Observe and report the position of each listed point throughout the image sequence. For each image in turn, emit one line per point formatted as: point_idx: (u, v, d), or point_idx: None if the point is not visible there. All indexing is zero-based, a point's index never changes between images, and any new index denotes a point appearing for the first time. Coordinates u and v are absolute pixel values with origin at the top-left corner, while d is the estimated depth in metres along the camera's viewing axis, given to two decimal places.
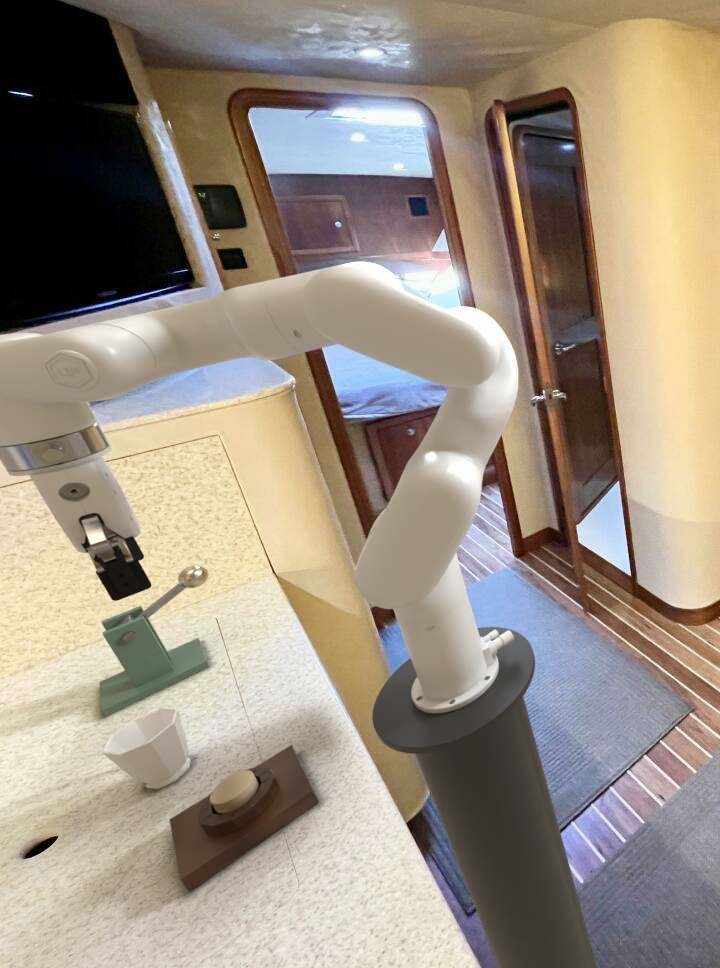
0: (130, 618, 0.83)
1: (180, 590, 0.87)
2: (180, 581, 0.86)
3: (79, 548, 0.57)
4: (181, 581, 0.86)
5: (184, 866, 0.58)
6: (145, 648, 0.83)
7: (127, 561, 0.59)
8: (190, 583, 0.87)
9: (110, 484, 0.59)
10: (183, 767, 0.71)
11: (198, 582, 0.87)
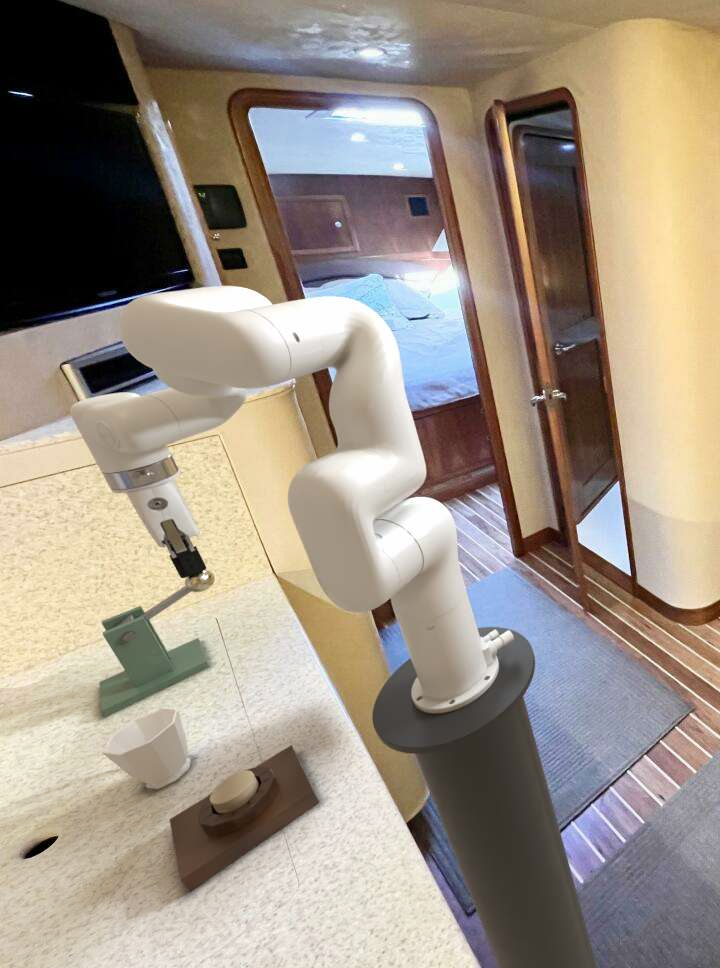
0: (132, 618, 0.83)
1: (185, 593, 0.87)
2: (187, 584, 0.87)
3: (159, 544, 0.81)
4: (188, 584, 0.87)
5: (184, 866, 0.58)
6: (145, 648, 0.83)
7: (192, 551, 0.86)
8: (197, 587, 0.87)
9: (180, 498, 0.82)
10: (183, 767, 0.71)
11: (204, 587, 0.88)
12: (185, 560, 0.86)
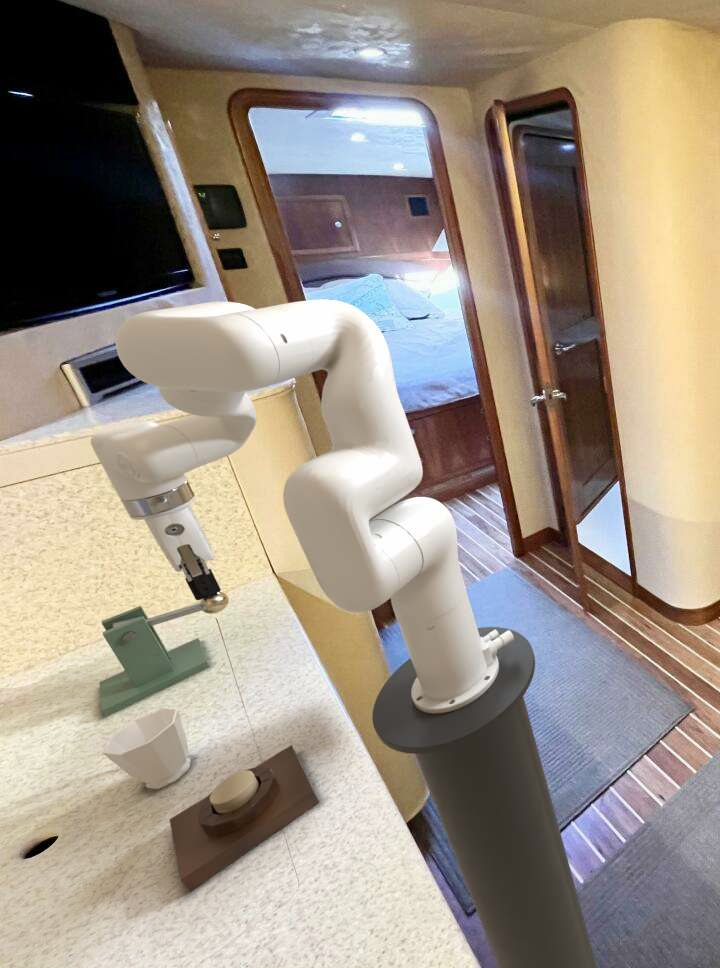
0: None
1: (196, 610, 0.89)
2: (204, 602, 0.89)
3: (176, 568, 0.83)
4: (205, 602, 0.89)
5: (184, 866, 0.58)
6: (145, 648, 0.83)
7: (207, 574, 0.88)
8: (210, 608, 0.89)
9: (196, 523, 0.84)
10: (183, 767, 0.71)
11: (216, 610, 0.90)
12: (200, 583, 0.88)
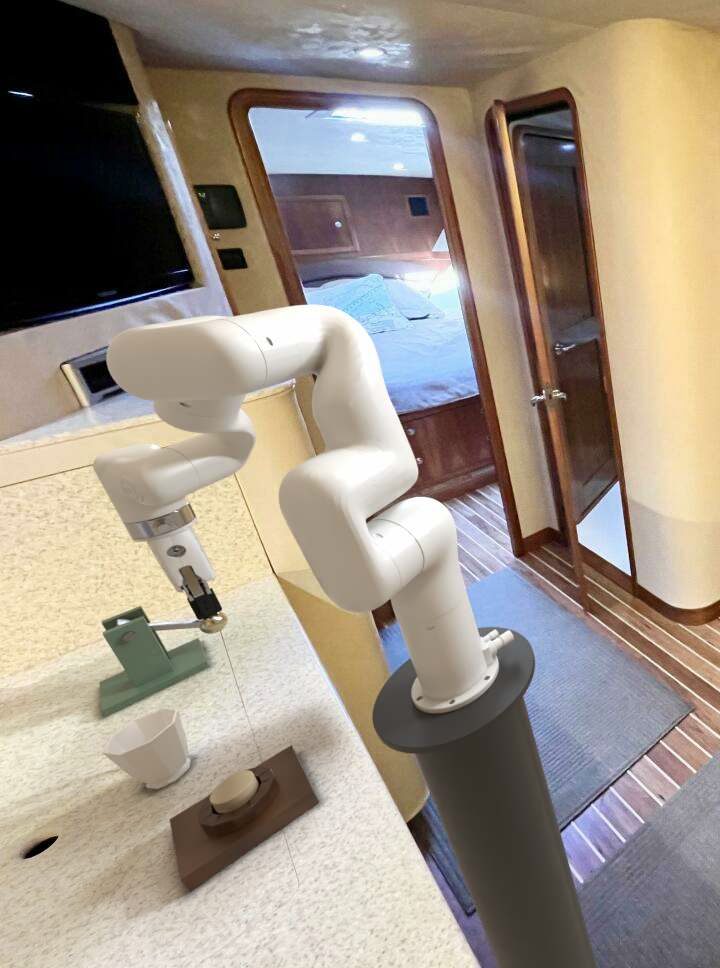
0: None
1: (194, 626, 0.89)
2: (206, 619, 0.90)
3: (178, 589, 0.83)
4: (207, 619, 0.90)
5: (184, 866, 0.58)
6: (145, 648, 0.83)
7: (208, 594, 0.89)
8: (209, 627, 0.90)
9: (198, 544, 0.85)
10: (183, 767, 0.71)
11: (213, 630, 0.90)
12: (202, 602, 0.89)
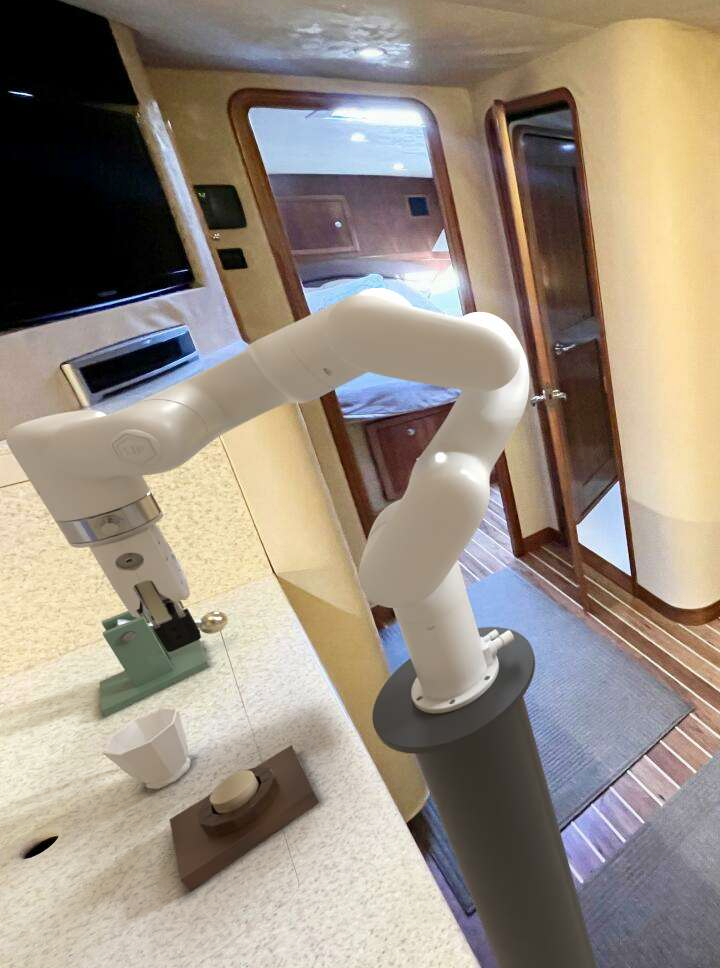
0: None
1: None
2: (206, 619, 0.90)
3: (134, 614, 0.60)
4: (207, 619, 0.90)
5: (184, 866, 0.58)
6: (145, 648, 0.83)
7: (181, 618, 0.66)
8: (209, 627, 0.90)
9: (162, 551, 0.61)
10: (183, 767, 0.71)
11: (213, 630, 0.90)
12: (172, 629, 0.65)
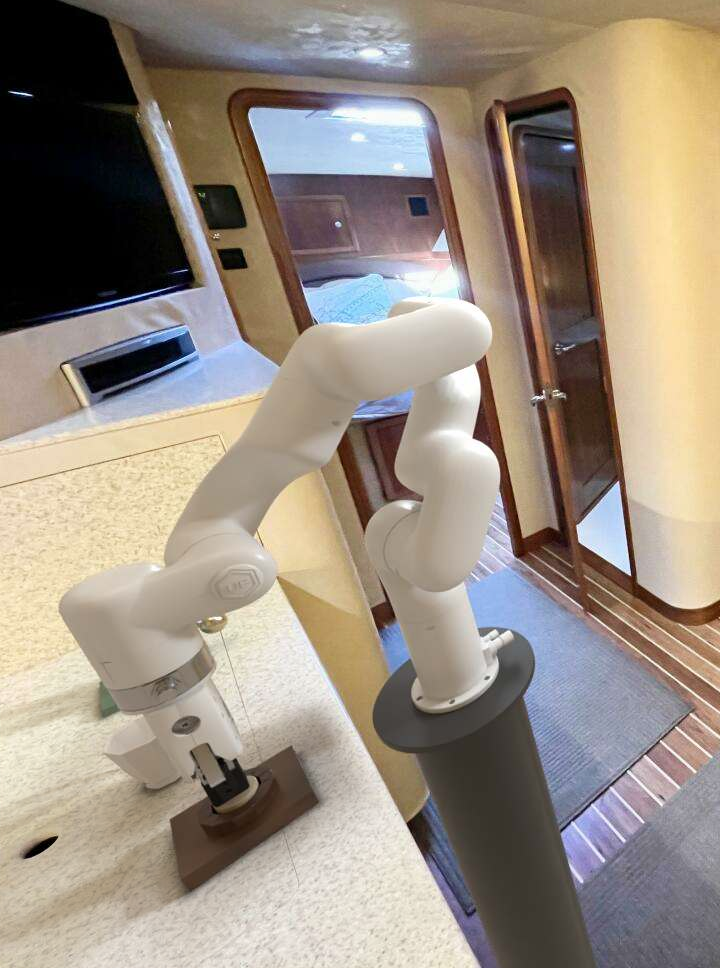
0: None
1: None
2: (206, 619, 0.90)
3: (188, 780, 0.55)
4: (207, 619, 0.90)
5: (184, 866, 0.58)
6: None
7: (231, 770, 0.61)
8: (209, 627, 0.90)
9: (218, 708, 0.57)
10: None
11: (213, 630, 0.90)
12: (221, 784, 0.60)
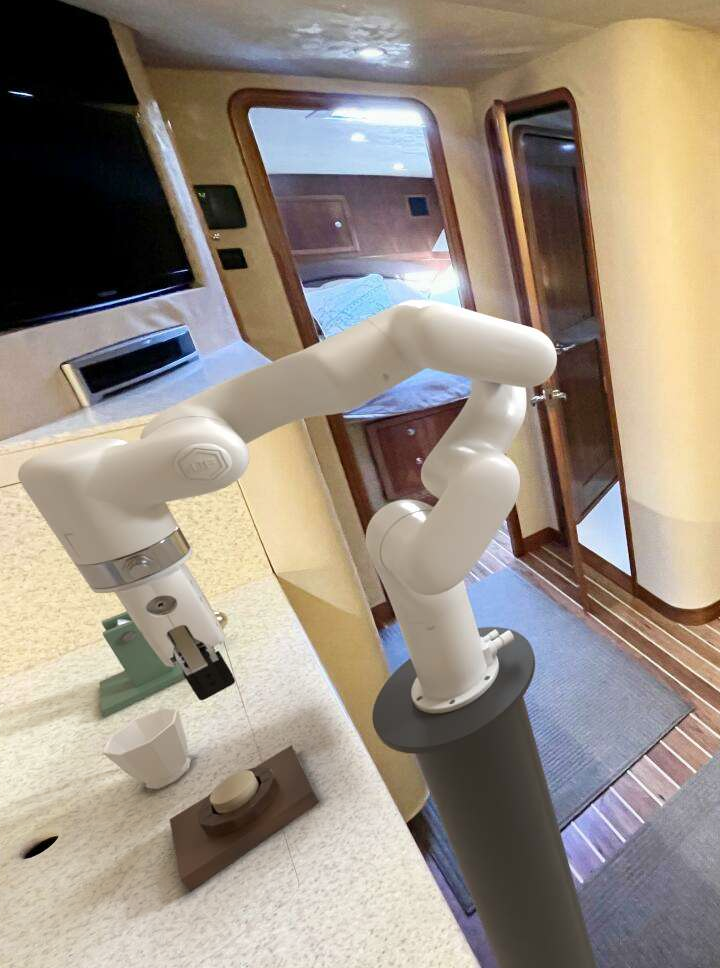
0: None
1: None
2: None
3: (167, 663, 0.54)
4: None
5: (184, 866, 0.58)
6: (145, 648, 0.83)
7: (214, 662, 0.60)
8: None
9: (196, 592, 0.55)
10: (183, 767, 0.71)
11: None
12: (205, 675, 0.59)
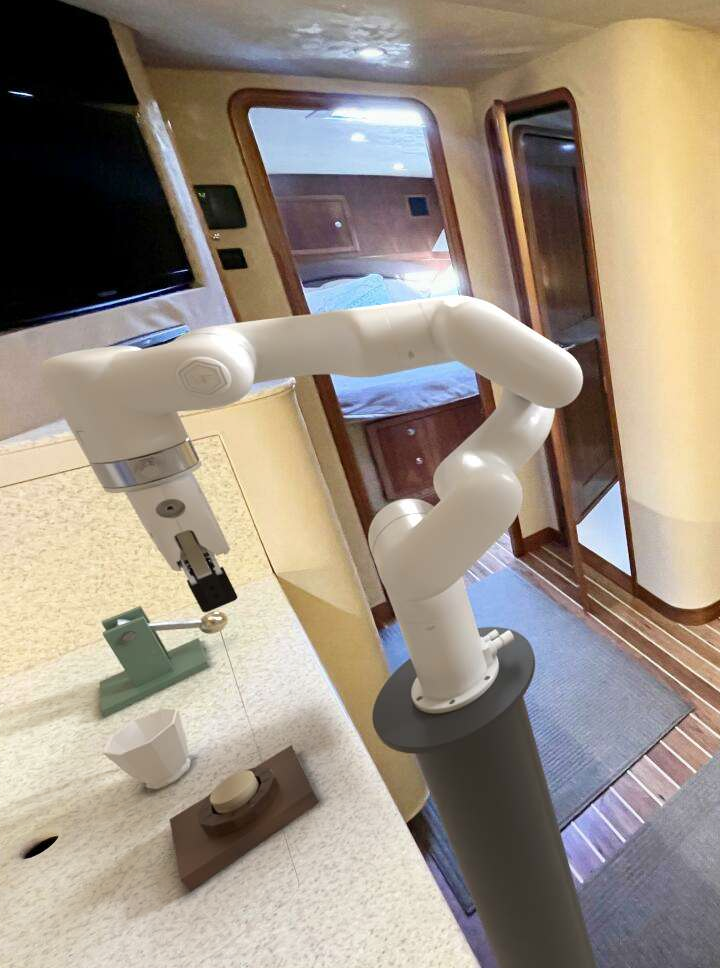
0: None
1: (194, 626, 0.89)
2: (206, 619, 0.90)
3: (174, 566, 0.56)
4: (207, 619, 0.90)
5: (184, 866, 0.58)
6: (145, 648, 0.83)
7: (218, 575, 0.61)
8: (209, 627, 0.90)
9: (203, 500, 0.57)
10: (183, 767, 0.71)
11: (213, 630, 0.90)
12: (209, 587, 0.61)
